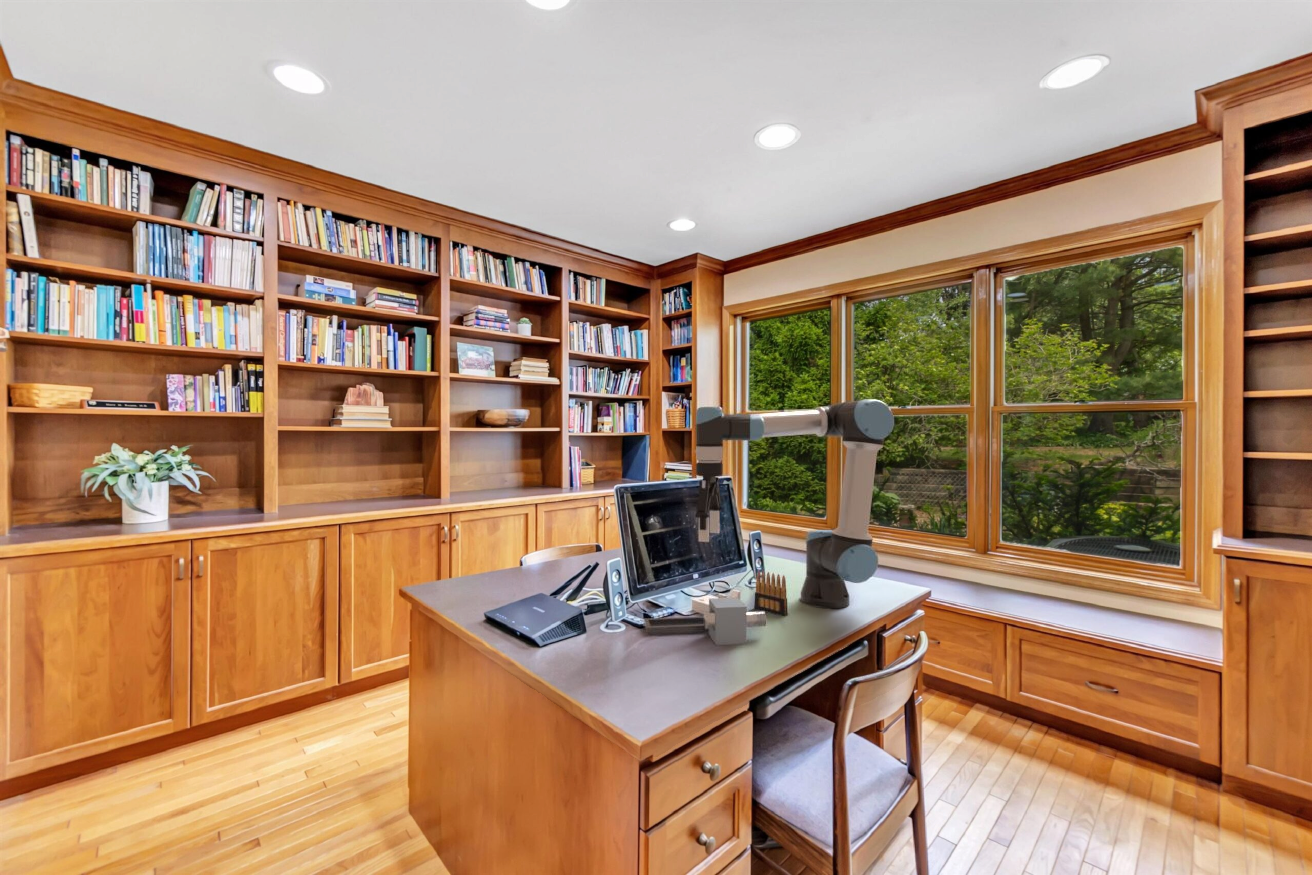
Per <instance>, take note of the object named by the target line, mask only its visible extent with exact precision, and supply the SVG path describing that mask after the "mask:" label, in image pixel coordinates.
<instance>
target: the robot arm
mask: <svg viewBox="0 0 1312 875" xmlns="http://www.w3.org/2000/svg"><path fill="white" fill-rule="evenodd" d="M694 425H695V449H694V451H693V453H694V454H695V460H696V461H697V462H696V463H695V475H696V476H698V477H702V480H699V482H698V483H699V486H698V488H699V489H698V498H697V507H696V513H695V515H694V516H695V518H698V520H697V521H698V522H697V523H698V542H699V543H700V542H702V543H703V542H704V543H709V542H710V534H720V511H723V507H722V504H721V503H722V502H721V495H720V494H721V493H720V486H719V481H720V480H719V477H722V476H723V474H724V473H723V472H724V471H723V470H724V466H723V463H722V461H723V460H724V446H723V442H724V441H726V442H727V441H737V442H738V441H750V442H753V441H759V440H762V439H763V438H773V437H774V438H775V437H786V436H787V437H788V436H800V435H816V436H817V437H820V438H821V437H835V438H842V444H843V445H844V446H845V448H846V454H845V462H844V471H843V479H842V489H841V495H840V496H841V498H840V506H839V514H838V521H837V527H836V528H835V529H818V530H815V529H814V530H809V531H808V532H807V534H806V539H805V540H806V541H805V543H806V548H805V550H806V551H805V552H806V555H805V558H806V560H805V561H806V564H805V566H806V568H805V569H806V573H805V574H806V576H805V579H804V581H803V584H802V587H801V590H800V600H801V602H803V603H804V604H806V605H808V606H812V607H818V608H822V609H823V608H824V609H842V608H845V607H848V606H849V605H850V594H849V592H848V588H847V585H846V582H849V583H853V584H861V583H864V582H867V581H868V580H869V579H870V578H872V577H874V575H875V574H876V571H877V570H878V567H879V557H878V554H877V553H876V550H875V549H874V548H873V540H874V539H873V537H872V536H871V534H870V533H869V526H870V518H871V508H872V499H873V492H874V482H875V474H876V465H877V464H876V463H877V456H878V452H879V450H881V449H882V448H883V447H884V445H885V444H884V443H885V438H887V437H888V436H889V435H890V434H891V433H892V431H893V430H894V427H895V418H894V413H893V411H892V410H891V408H890V406H888V404H887V403H885V402H883V401H881V400H878V399H870V398H869V399H867V398H865V399H862V400H861V399H860V400H854V401H852V400H851V401H843V402H840V403H835V404H834V403H833V404H831V405H825V406H817V407H815V408H814V409H813V410H812V409H810V410H797V411H796V410H794V411H779V412H763V413H747V414H745V413H740V414H738V413H736V414H735V413H732V414H731V413H730V414H728V413H724V411H723V408H722V407H721V406H700V407H698V408H697V409H696V413H695V423H694ZM845 581H846V582H845Z"/></svg>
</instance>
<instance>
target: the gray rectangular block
mask: <svg viewBox="0 0 1312 875" xmlns="http://www.w3.org/2000/svg"><path fill="white" fill-rule="evenodd" d="M747 610H748V608H747V606H746V604H744V602H743V601H742V600H741V598H740V599H739V598H729V597H727V598H718V597H716V598H711V599H709V613H715V628H709V632H708V635H709V636H710V638H711V640H712V641H713V643H714V644H715V646H725V645H742V644H743V645H746V644H747V636H748V635H747V630H748V629H747V628H748V627H747V612H748V611H747Z"/></svg>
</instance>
